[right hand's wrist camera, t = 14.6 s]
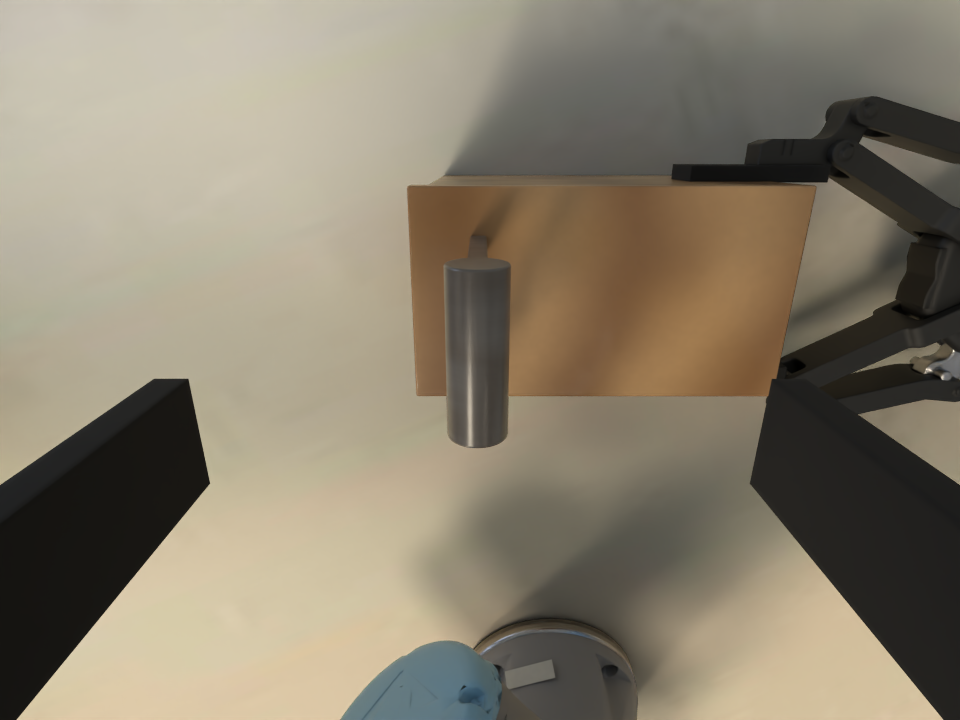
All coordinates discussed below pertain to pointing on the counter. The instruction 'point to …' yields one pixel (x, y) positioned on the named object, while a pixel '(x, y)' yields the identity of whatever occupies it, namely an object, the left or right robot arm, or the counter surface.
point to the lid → (598, 292)
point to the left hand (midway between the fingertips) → (668, 275)
